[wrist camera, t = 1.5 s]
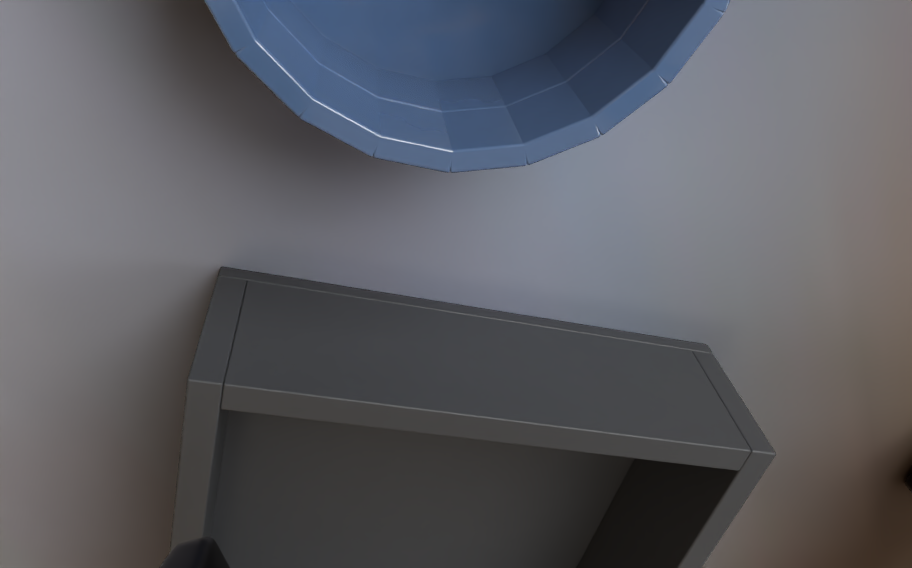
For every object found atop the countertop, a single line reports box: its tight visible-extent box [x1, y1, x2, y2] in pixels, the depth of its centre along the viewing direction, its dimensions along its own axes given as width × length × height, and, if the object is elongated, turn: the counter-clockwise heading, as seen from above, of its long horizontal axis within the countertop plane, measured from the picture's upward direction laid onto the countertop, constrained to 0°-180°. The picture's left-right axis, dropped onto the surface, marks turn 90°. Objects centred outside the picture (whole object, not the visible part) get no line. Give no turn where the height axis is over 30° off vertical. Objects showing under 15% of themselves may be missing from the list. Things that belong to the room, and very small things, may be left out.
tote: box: [170, 267, 776, 568], centre depth 25 cm, size 16×16×5 cm
